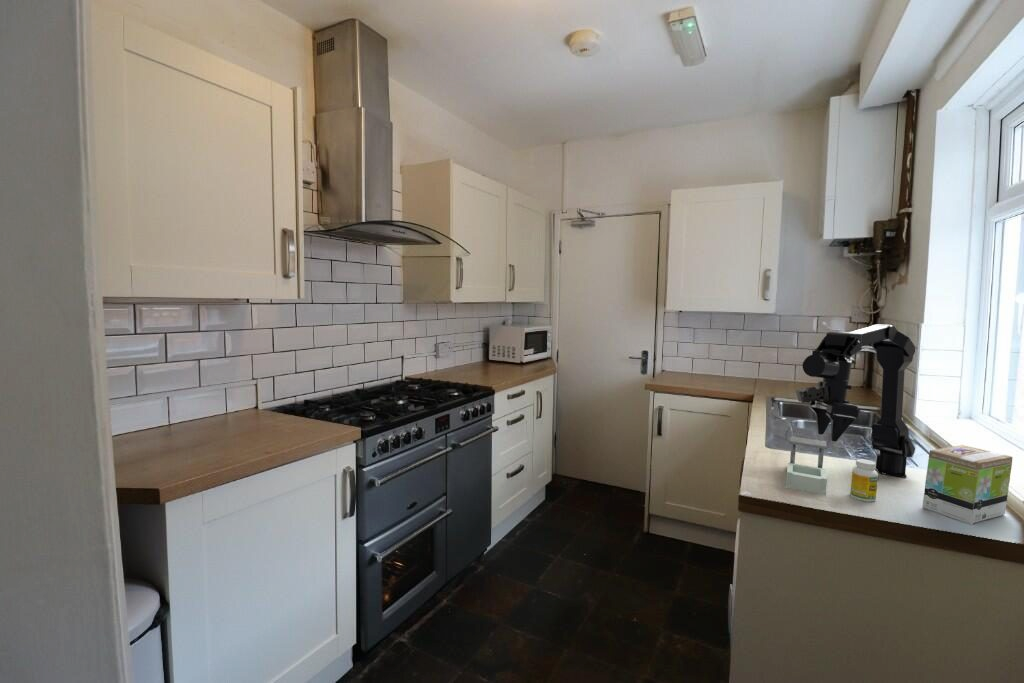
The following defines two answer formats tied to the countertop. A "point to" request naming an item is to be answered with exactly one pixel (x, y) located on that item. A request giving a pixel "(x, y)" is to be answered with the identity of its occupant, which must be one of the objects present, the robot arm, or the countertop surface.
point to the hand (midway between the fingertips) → (826, 437)
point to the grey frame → (809, 443)
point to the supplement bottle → (864, 481)
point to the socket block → (806, 478)
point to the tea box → (967, 483)
